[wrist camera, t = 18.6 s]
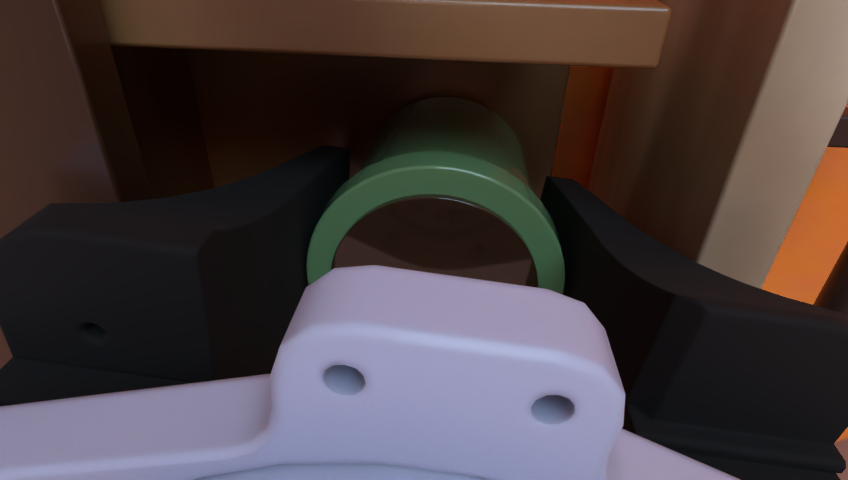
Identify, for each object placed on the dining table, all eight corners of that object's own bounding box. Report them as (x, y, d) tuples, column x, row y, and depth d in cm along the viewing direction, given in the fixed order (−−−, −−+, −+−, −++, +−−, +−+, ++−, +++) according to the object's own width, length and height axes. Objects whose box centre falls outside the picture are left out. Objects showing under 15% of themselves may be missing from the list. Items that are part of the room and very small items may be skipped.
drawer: (918, -67, 12) (1358, -33, 6) (742, 315, 18) (878, 516, 12) (146, -92, 12) (-129, -84, 7) (227, 284, 18) (120, 462, 12)
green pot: (318, 141, 14) (249, 243, 10) (485, 45, 12) (491, 116, 8) (414, 276, 16) (393, 409, 12) (568, 208, 14) (607, 334, 10)
